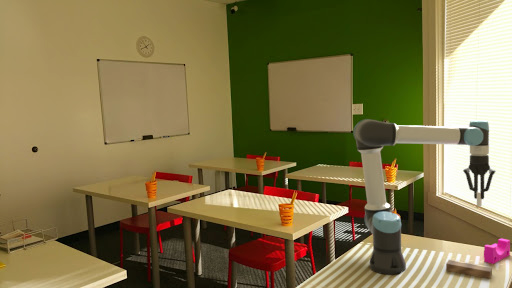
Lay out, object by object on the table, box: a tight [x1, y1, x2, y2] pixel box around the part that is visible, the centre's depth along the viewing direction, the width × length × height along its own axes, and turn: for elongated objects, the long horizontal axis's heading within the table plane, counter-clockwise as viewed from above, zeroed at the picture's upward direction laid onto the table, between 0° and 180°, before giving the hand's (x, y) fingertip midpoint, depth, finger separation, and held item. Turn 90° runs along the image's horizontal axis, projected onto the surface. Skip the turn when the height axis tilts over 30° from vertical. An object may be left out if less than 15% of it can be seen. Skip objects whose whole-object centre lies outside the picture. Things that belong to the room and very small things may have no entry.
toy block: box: [483, 238, 511, 265], centre depth 179 cm, size 15×6×8 cm, turn 124°
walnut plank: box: [445, 259, 493, 280], centre depth 165 cm, size 16×5×3 cm, turn 52°
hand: (479, 205), depth 184 cm, fingers closed
